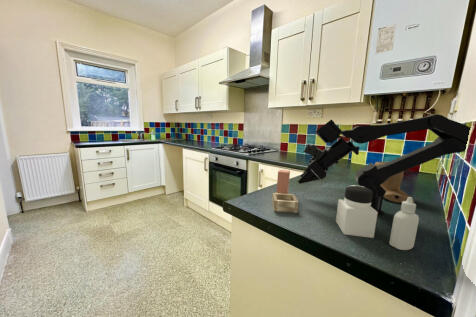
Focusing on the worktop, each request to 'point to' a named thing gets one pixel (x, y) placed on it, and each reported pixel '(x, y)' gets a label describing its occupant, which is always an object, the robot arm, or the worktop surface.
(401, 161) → the robot arm
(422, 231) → the worktop surface
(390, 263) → the worktop surface
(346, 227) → the medicine bottle
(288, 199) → the birch collar
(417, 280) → the worktop surface
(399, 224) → the eye dropper bottle
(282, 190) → the red peg
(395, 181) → the brown angle bracket
